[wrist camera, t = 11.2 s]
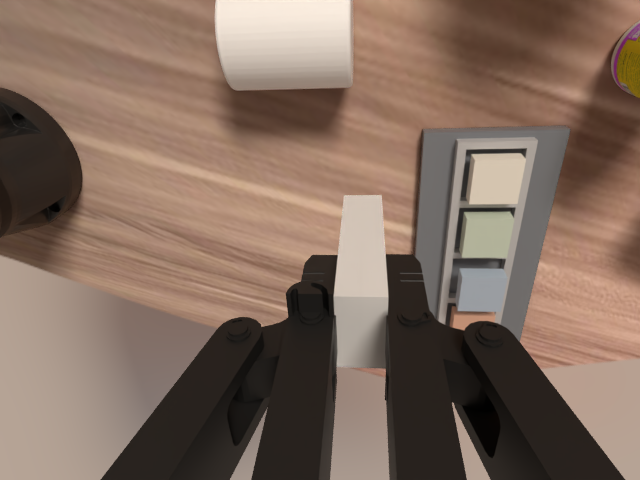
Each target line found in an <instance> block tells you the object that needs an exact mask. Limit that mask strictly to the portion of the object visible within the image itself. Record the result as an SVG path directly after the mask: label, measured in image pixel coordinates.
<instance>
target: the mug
mask: <svg viewBox="0 0 640 480" xmlns="http://www.w3.org/2000/svg"><path fill="white" fill-rule="evenodd" d="M215 33H216V42H217V49H218V54H219V59H220V63H221V67H222V70H223V73H224V76H225V78H226V80H227V82H228V84H229V85H230V86H231V88H233V89H234V90H237V91H242V90H280V89H318V88H350V87H351V86H352V83H353V0H216V3H215Z"/></svg>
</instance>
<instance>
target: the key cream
mask: <svg viewBox="0 0 640 480" xmlns="http://www.w3.org/2000/svg"><path fill="white" fill-rule="evenodd" d="M525 163H526V159H525V157H524V156H523V155H522V154H521V153H502V154H471V160H470V168H469V176H468V184H467V192H466V199H467V201H468V203H469V204H518V199H519V194H520V189H521V183H522V178H523V173H524V168H525Z"/></svg>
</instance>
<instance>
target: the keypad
mask: <svg viewBox="0 0 640 480" xmlns="http://www.w3.org/2000/svg"><path fill="white" fill-rule="evenodd" d="M570 130H571V129H569V128H568V127H567V126H526V127H485V128H444V129H423V133H422V147H421V162H420V177H419V192H418V207H417V222H416V237H415V252H414V256H415V257H416V258H417V260H418V261H419V262H420V263H421V268H422V274H423V279H424V284H425V289H426V295H427V300H428V305H429V310H430V311H431V312H432V313H433V315H434V317H435V319H436V320H438V321H439V322H441V323H442V324H444V325H447V326H449V325H450V317H451V309H452V306H456V303H455V299H456V291H457V284H458V276H459V269H460V268H473V269H504V271H505V273H506V275H507V283H506V288H505V293H504V298H503V303H502V308H501V312H494V313H495V316H496V317H495V322H494V323H498V324H500V325H502V326H504V327H506V328H507V329H509V330H510V331H511V332H512V333H513V334H514V335H515V337H516V338H517V339H518V341H519V342H520V338H521V334H522V329H523V325H524V321H525V317H526V313H527V309H528V304H529V300H530V296H531V292H532V288H533V284H534V279H535V275H536V271H537V267H538V263H539V259H540V255H541V250H542V246H543V242H544V238H545V234H546V230H547V225H548V221H549V217H550V213H551V209H552V205H553V200H554V196H555V192H556V188H557V184H558V180H559V175H560V171H561V167H562V163H563V159H564V155H565V150H566V146H567V142H568V138H569V134H570ZM502 153H521V154H522V155H523V156H524V157H525V159H526V163H525V168H524V173H523V178H522V183H521V189H520V194H519V199H518V204H469V203H468V201H467V199H466V192H467V184H468V176H469V168H470V160H471V154H502ZM464 212H510V213H511V214H512V216H513V218H514V224H513V230H512V235H511V240H510V245H509V250H508V255H507V258H462V256H461V253H460V250H459V247H460V239H461V231H462V223H463V215H464Z"/></svg>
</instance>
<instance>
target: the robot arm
mask: <svg viewBox="0 0 640 480" xmlns="http://www.w3.org/2000/svg"><path fill="white" fill-rule="evenodd" d="M81 181H82V176H81V168H80V163H79V159H78V156H77V154H76V151H75V149H74V147H73V145H72V143H71V141H70V140H69V138H68V136H67V135H66V133H65V132H64V131H63V129H62V128H61V127H60V125H59V124H58V123H57V122H56V121H55V120H54V119H53V118H52V117H51V116H50V115H49V114H48V113H47V112H46V111H45V110H43V109H42V108H41V107H40V106H38V105H37V104H35V103H34V102H32V101H31V100H29V99H28V98H26V97H24V96H22V95H20V94H18V93H16V92H13V91H10V90H8V89H4V88H0V238H1V237H2V236H5V235H9V234H13V233H17V232H21V231H24V230H28V229H32V228H36V227H40V226H43V225H46V224H48V223H50V222H52V221H54V220H55V219H57V218H58V217H59V216H61V215H62V214H63V213H65V212H66V211H67V210H68V209H70V208H71V207H72V205H73V204H74V203H75V201H76V199H77V198H78V195H79V192H80V189H81ZM286 299H287V308H288V318H287V319H286V320H284V321H282V322H280V323H277V324H274V325H269V326H265V327H261V324H260V323H259V322H258V321H257V320H254V319H252V318H248V317H239V318H234V319H231V320H229V321H227V322H225V323H223V324H222V325H221V326H220V327H219V328H218V329H217V330H216V332H215V333H214V334H213V335H212V337H211V338H210V339H209V341H208V342H207V343H206V345H205V346H204V347H203V348H202V350H201V351H200V352H199V353H198V355H197V356H196V357H195V359H194V360H193V361H192V362H191V364H190V365H189V366H188V368H187V369H186V370H185V372H184V373H183V374H182V375H181V377H180V378H179V379H178V381H177V382H176V383H175V384H174V386H173V387H172V388H171V390H170V391H169V392H168V393H167V395H166V396H165V397H164V399H163V400H162V401H161V403H160V404H159V405H158V406H157V408H156V409H155V410H154V412H153V413H152V414H151V416H150V417H149V418H148V419H147V421H146V422H145V423H144V425H143V426H142V427H141V428H140V430H139V431H138V432H137V434H136V435H135V436H134V437H133V439H132V440H131V441H130V443H129V444H128V445H127V447H126V448H125V449H124V450H123V452H122V453H121V454H120V456H119V457H118V458H117V459H116V461H115V462H114V463H113V465H112V466H111V467H110V468H109V470H108V471H107V472H106V474H105V475H104V476H103V477H102V479H101V480H230V478H231V476H232V474H233V472H234V470H235V468H236V466H237V464H238V463H239V460H240V459H241V457H242V455H243V453H244V451H245V449H246V447H247V445H248V443H249V441H250V440H251V437H252V436H253V434H254V432H255V430H256V428H257V426H258V424H259V422H260V420H261V418H262V417H263V415H264V413H265V411H266V409H267V407H268V409H267V413H266V417H265V422H264V427H263V431H262V435H261V440H260V444H259V448H258V453H257V457H256V462H255V466H254V471H253V475H252V480H330V470H331V455H332V442H333V441H332V440H333V427H334V413H335V399H336V384H337V374H336V366H337V367H355V368H386V384H385V400H386V405H387V426H388V449H389V450H388V452H389V474H390V480H467V479H466V474H465V468H464V463H463V458H462V453H461V448H460V443H459V438H458V433H457V427H456V423H455V418H454V412H453V408H452V402H453V403H454V405H455V408H456V410H457V412H458V414H459V417H460V419H461V420H462V423H463V424H464V427H465V429H466V431H467V433H468V435H469V437H470V439H471V441H472V443H473V444H474V447H475V449H476V451H477V453H478V455H479V457H480V459H481V461H482V463H483V465H484V467H485V469H486V471H487V473H488V475H489V477H490V479H491V480H625V479H624V478H623V476H622V475H621V474H620V472H619V471H618V470H617V469H616V467H615V466H614V465H613V463H612V462H611V461H610V459H609V458H608V457H607V455H606V454H605V453H604V451H603V450H602V449H601V448H600V446H599V445H598V444H597V442H596V441H595V440H594V439H593V437H592V436H591V435H590V433H589V432H588V431H587V429H586V428H585V427H584V425H583V424H582V423H581V422H580V420H579V419H578V418H577V416H576V415H575V414H574V412H573V411H572V410H571V409H570V407H569V406H568V405H567V403H566V402H565V401H564V399H563V398H562V397H561V396H560V394H559V393H558V392H557V390H556V389H555V388H554V386H553V385H552V384H551V383H550V381H549V380H548V379H547V377H546V376H545V375H544V373H543V372H542V371H541V369H540V368H539V367H538V365H537V364H536V363H535V362H534V360H533V359H532V358H531V356H530V355H529V354H528V352H527V351H526V350H525V348H524V347H523V346H522V345H521V343H520V342H519V341H518V339H517V338H516V337H515V335H514V334H513V333H512V332H511V331H510V330H509V329H507V328H506V327H504V326H502V325H500V324H498V323H494V322H490V321H477V322H474V323H470V324H469V325H468V326H467V327H466V328H465V330H461V329H457V328H453V327H450V326H447V325H444V324H442V323H441V322H439V321H438V320H436V319H435V317H434V315H433V313H432V312H431V311H430V310H429V305H428V300H427V295H426V289H425V284H424V279H423V274H422V268H421V263H420V262H419V261H418V260H417V258H416V257H415V256H414V255H399V254H386V253H385V238H384V224H383V209H382V195H344V201H343V211H342V221H341V230H340V240H339V249H338V255H312V256H311V257H310V258H309V259H308V260H307V261H306V262H305V265H304V270H303V274H302V279H301V282H299V283H296V284H294V285H293V286H291V287H290V288H289V289H288V291H287V293H286Z"/></svg>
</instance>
